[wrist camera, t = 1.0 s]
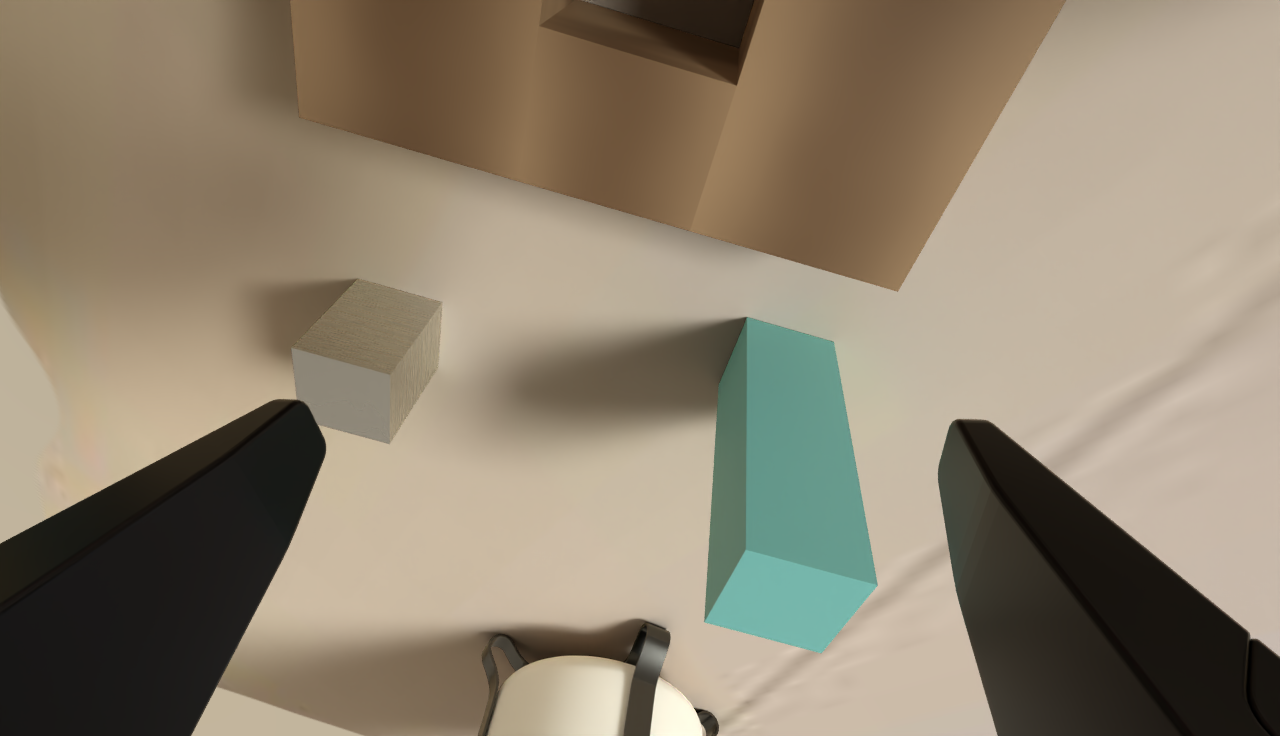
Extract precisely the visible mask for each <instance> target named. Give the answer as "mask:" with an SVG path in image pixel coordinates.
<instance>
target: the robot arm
mask: <svg viewBox="0 0 1280 736" xmlns="http://www.w3.org/2000/svg"><path fill="white" fill-rule="evenodd" d="M325 454H326V442H325V439H324V437H323V435H322V433H321V431H320V429H319V426H318V424H317V422H316V420H315V418H314V416H313V414H312V412H311V410H310V408H309V406H308V405H307V404H306V403H305V402H303V401H301V400H290V399H277V400H273V401H270V402H268V403H267V404H265V405H263V406H261V407H259V408H257V409H255V410H253V411H251V412H249V413H248V414H246V415H244V416H242V417H240V418H238V419H236V420H234V421H232V422H230V423H228V424H227V425H225V426H223V427H221V428H219V429H217V430H215V431H213V432H211V433H209V434H208V435H206V436H204V437H202V438H200V439H198V440H196V441H194V442H192V443H190V444H189V445H187V446H185V447H183V448H181V449H179V450H177V451H175V452H173V453H171V454H170V455H168V456H166V457H164V458H162V459H160V460H158V461H156V462H154V463H152V464H151V465H149V466H147V467H145V468H143V469H141V470H139V471H137V472H135V473H133V474H132V475H130V476H128V477H126V478H124V479H122V480H120V481H118V482H116V483H114V484H113V485H111V486H109V487H107V488H105V489H103V490H101V491H99V492H97V493H95V494H94V495H92V496H90V497H88V498H86V499H84V500H82V501H80V502H78V503H76V504H75V505H73V506H71V507H69V508H67V509H65V510H63V511H61V512H59V513H57V514H56V515H54V516H52V517H50V518H48V519H46V520H44V521H42V522H40V523H38V524H37V525H35V526H33V527H31V528H29V529H27V530H25V531H23V532H21V533H20V534H18V535H16V536H14V537H12V538H10V539H8V540H6V541H4V542H2V543H1V544H0V736H191V735H192V733H193V731H194V729H195V727H196V725H197V723H198V721H199V719H200V718H201V716H202V714H203V712H204V710H205V708H206V706H207V704H208V702H209V700H210V698H211V696H212V694H213V693H214V691H215V689H216V687H217V685H218V683H219V681H220V679H221V677H222V675H223V673H224V671H225V669H226V668H227V666H228V664H229V662H230V660H231V658H232V656H233V654H234V652H235V650H236V648H237V646H238V644H239V643H240V641H241V639H242V637H243V635H244V633H245V631H246V629H247V627H248V625H249V623H250V621H251V619H252V617H253V616H254V614H255V612H256V610H257V608H258V606H259V604H260V602H261V600H262V598H263V596H264V594H265V592H266V591H267V589H268V587H269V585H270V583H271V581H272V579H273V577H274V575H275V573H276V571H277V569H278V567H279V566H280V564H281V562H282V560H283V558H284V556H285V554H286V551H287V549H288V547H289V545H290V543H291V540H292V538H293V536H294V533H295V531H296V529H297V526H298V524H299V521H300V519H301V516H302V514H303V511H304V508H305V506H306V503H307V501H308V498H309V496H310V493H311V491H312V488H313V486H314V483H315V481H316V478H317V476H318V473H319V471H320V468H321V466H322V463H323V461H324V458H325ZM938 483H939V490H940V496H941V502H942V508H943V515H944V521H945V527H946V533H947V540H948V546H949V552H950V558H951V564H952V571H953V576H954V582H955V587H956V592H957V596H958V600H959V604H960V608H961V611H962V615H963V618H964V621H965V625H966V628H967V632H968V635H969V639H970V642H971V646H972V649H973V652H974V656H975V659H976V663H977V666H978V670H979V673H980V677H981V680H982V683H983V687H984V690H985V694H986V697H987V701H988V704H989V708H990V711H991V714H992V718H993V721H994V725H995V728H996V732H997V735H998V736H1280V657H1279V656H1278V655H1277V654H1276V653H1274V652H1273V651H1272V650H1271V649H1270V648H1268V647H1267V646H1266V645H1265V644H1263V643H1262V642H1261V641H1260V640H1258V639H1250V633H1249V632H1248V631H1247V630H1246V629H1245V628H1243V627H1242V626H1241V625H1240V624H1238V623H1237V622H1236V621H1235V620H1234V619H1232V618H1231V617H1230V616H1229V615H1227V614H1226V613H1225V612H1224V611H1222V610H1221V609H1220V608H1219V607H1218V606H1216V605H1215V604H1214V603H1213V602H1211V601H1210V600H1209V599H1208V598H1207V597H1205V596H1204V595H1203V594H1202V593H1200V592H1199V591H1198V590H1197V589H1195V588H1194V587H1193V586H1192V585H1191V584H1189V583H1188V582H1187V581H1186V580H1184V579H1183V578H1182V577H1181V576H1179V575H1178V574H1177V573H1176V572H1175V571H1173V570H1172V569H1171V568H1170V567H1168V566H1167V565H1166V564H1165V563H1164V562H1162V561H1161V560H1160V559H1159V558H1157V557H1156V556H1155V555H1154V554H1152V553H1151V552H1150V551H1149V550H1148V549H1146V548H1145V547H1144V546H1143V545H1141V544H1140V543H1139V542H1138V541H1137V540H1135V539H1134V538H1133V537H1132V536H1130V535H1129V534H1128V533H1127V532H1125V531H1124V530H1123V529H1122V528H1121V527H1119V526H1118V525H1117V524H1116V523H1114V522H1113V521H1112V520H1111V519H1109V518H1108V517H1107V516H1106V515H1105V514H1103V513H1102V512H1101V511H1100V510H1098V509H1097V508H1096V507H1095V506H1094V505H1092V504H1091V503H1090V502H1089V501H1087V500H1086V499H1085V498H1084V497H1082V496H1081V495H1080V494H1079V493H1078V492H1076V491H1075V490H1074V489H1073V488H1071V487H1070V486H1069V485H1068V484H1067V483H1065V482H1064V481H1063V480H1062V479H1060V478H1059V477H1058V476H1057V475H1055V474H1054V473H1053V472H1052V471H1051V470H1049V469H1048V468H1047V467H1046V466H1044V465H1043V464H1042V463H1041V462H1039V461H1038V460H1037V459H1036V458H1035V457H1033V456H1032V455H1031V454H1030V453H1028V452H1027V451H1026V450H1025V449H1024V448H1022V447H1021V446H1020V445H1019V444H1017V443H1016V442H1015V441H1014V440H1012V439H1011V438H1010V437H1009V436H1008V435H1006V434H1005V433H1004V432H1003V431H1001V430H1000V429H999V428H998V427H997V426H995V425H994V424H993V423H991V422H989V421H987V420H978V419H957V420H955V421H953V422H952V423H951V425H950V427H949V430H948V433H947V437H946V441H945V444H944V448H943V452H942V455H941V459H940V463H939V468H938Z"/></svg>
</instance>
